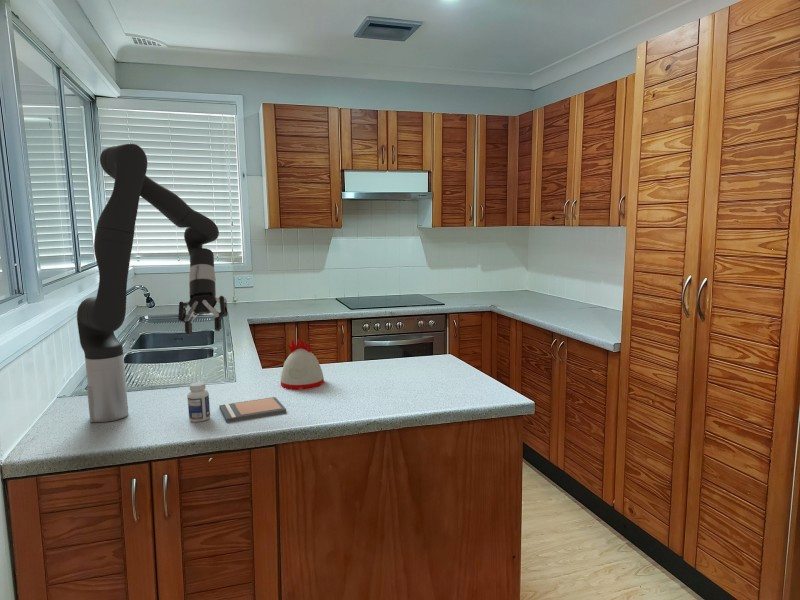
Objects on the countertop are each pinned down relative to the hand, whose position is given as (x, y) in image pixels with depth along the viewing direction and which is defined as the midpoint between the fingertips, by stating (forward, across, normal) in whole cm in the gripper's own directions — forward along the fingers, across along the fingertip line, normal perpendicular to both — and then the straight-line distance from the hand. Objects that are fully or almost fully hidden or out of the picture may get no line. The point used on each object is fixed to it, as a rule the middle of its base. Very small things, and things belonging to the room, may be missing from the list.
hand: (203, 332), depth 166 cm
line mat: (+25, +14, -2) cm, 29 cm away
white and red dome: (+15, +23, +24) cm, 36 cm away
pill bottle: (+27, +2, -8) cm, 28 cm away
